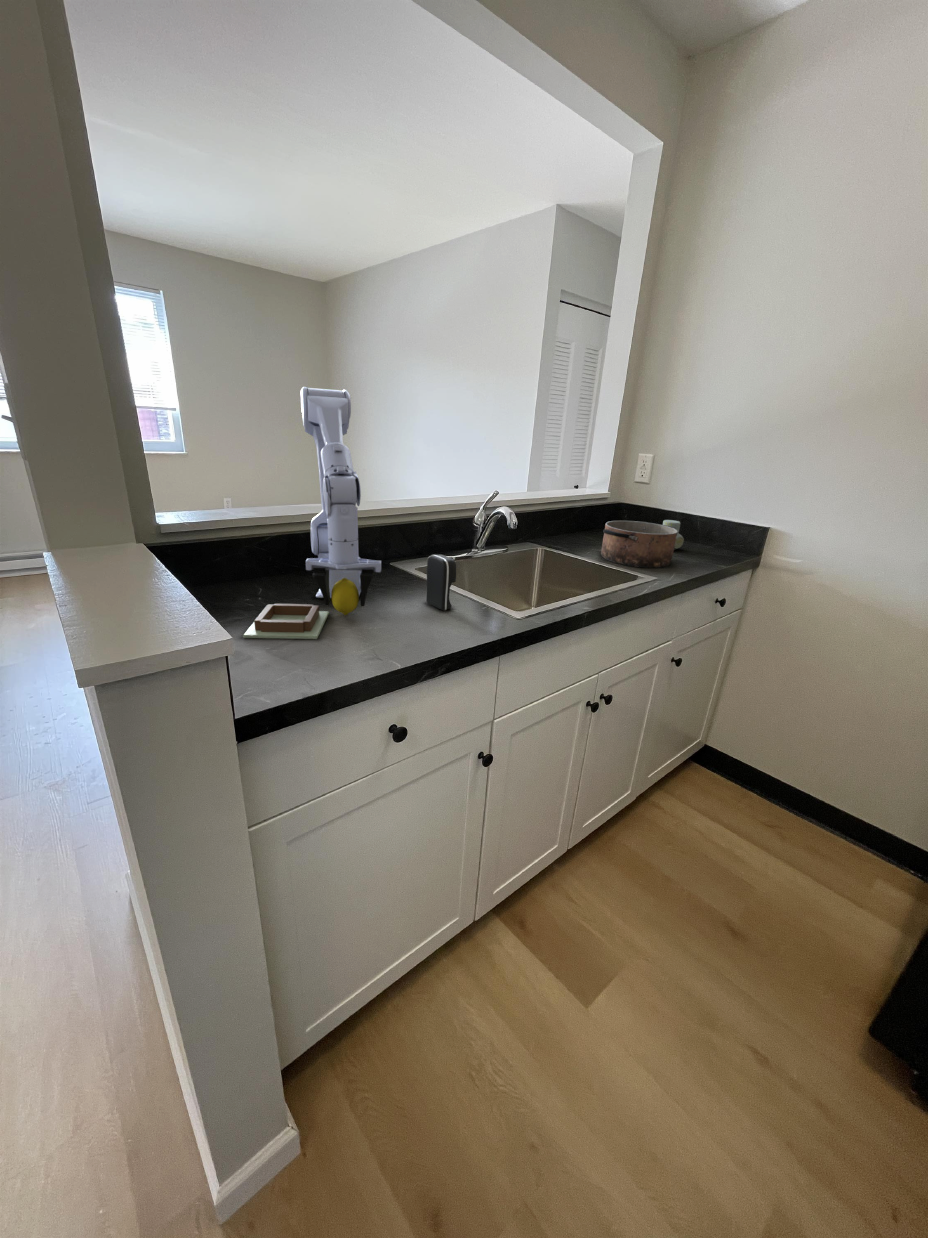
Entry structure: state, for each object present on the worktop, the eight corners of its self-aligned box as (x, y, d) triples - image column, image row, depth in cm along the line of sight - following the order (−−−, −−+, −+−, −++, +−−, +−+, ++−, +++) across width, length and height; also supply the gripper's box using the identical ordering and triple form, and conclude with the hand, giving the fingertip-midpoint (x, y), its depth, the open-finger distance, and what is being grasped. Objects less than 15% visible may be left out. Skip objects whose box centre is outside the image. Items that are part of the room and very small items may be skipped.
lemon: (334, 610, 105) (332, 573, 102) (360, 610, 105) (360, 574, 102) (329, 619, 100) (328, 581, 97) (357, 620, 100) (356, 582, 97)
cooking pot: (635, 548, 181) (641, 518, 177) (691, 562, 164) (698, 530, 160) (578, 555, 164) (583, 523, 161) (634, 572, 148) (640, 537, 144)
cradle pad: (328, 613, 103) (328, 602, 102) (317, 639, 91) (316, 626, 90) (264, 612, 101) (262, 600, 100) (243, 638, 89) (241, 624, 88)
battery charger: (456, 609, 110) (459, 558, 105) (442, 612, 107) (445, 560, 103) (438, 600, 115) (440, 551, 111) (425, 602, 112) (426, 553, 108)
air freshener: (663, 544, 190) (669, 518, 186) (684, 549, 184) (690, 522, 181) (648, 547, 183) (653, 520, 180) (669, 552, 178) (675, 524, 174)
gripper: (300, 541, 92) (305, 610, 97) (379, 544, 94) (379, 611, 99) (308, 534, 99) (312, 598, 104) (381, 536, 100) (382, 600, 105)
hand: (345, 604), depth 102 cm, fingers open, 6 cm apart
